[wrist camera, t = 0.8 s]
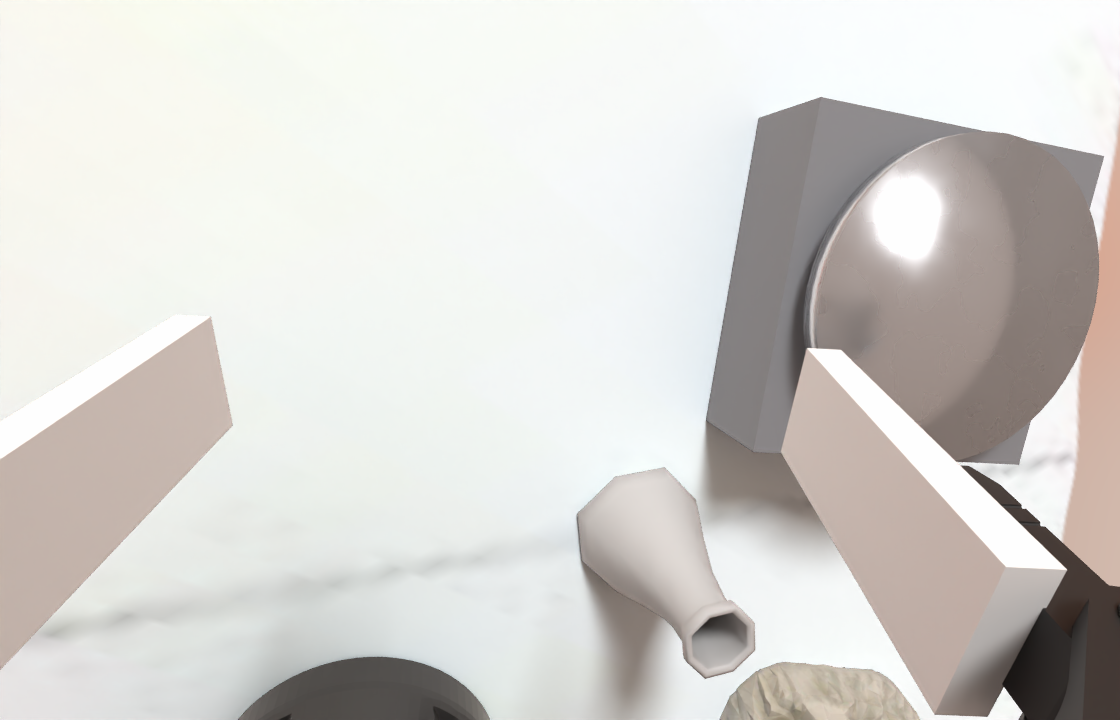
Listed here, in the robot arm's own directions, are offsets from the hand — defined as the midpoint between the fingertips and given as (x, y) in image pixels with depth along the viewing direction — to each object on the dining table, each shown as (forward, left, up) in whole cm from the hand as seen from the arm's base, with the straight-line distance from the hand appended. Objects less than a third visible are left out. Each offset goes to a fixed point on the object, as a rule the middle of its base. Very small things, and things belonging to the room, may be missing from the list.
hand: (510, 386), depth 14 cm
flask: (-12, -11, -17) cm, 23 cm away
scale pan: (+3, -22, -10) cm, 24 cm away
